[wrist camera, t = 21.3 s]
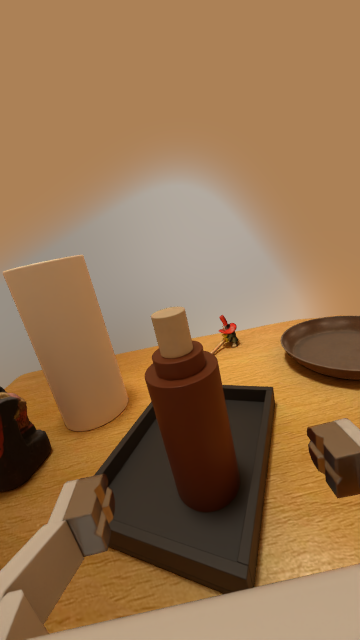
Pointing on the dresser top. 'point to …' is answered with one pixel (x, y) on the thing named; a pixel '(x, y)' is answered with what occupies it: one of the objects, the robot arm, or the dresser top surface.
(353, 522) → the dresser top surface
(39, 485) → the dresser top surface
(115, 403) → the tall pillar cylinder
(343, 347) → the plant saucer
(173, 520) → the tray
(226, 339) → the toy figure
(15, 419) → the statue
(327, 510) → the dresser top surface
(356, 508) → the dresser top surface
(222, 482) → the bottle
